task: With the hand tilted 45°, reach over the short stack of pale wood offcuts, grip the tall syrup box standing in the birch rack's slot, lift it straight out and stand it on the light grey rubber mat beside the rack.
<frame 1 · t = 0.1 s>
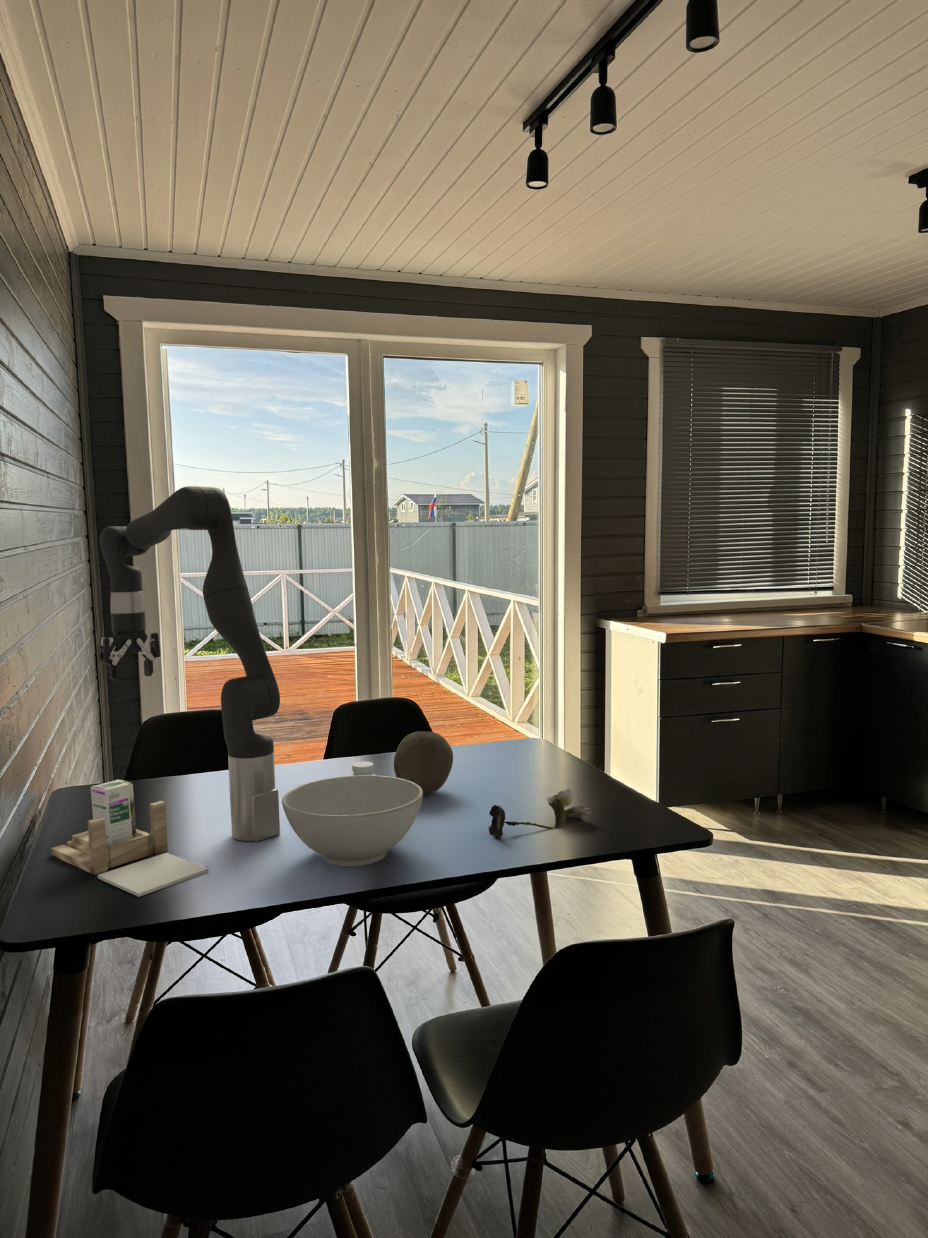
hand: (131, 678, 203), 29 cm above the table, tool pointing down, fingers open, 8 cm apart
decorative bowl: (355, 856, 164), on the table
syrup box: (116, 857, 167), resting in birch rack
grey mat: (153, 875, 157), on the table
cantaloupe: (424, 794, 204), on the table
pill bottle: (364, 816, 188), on the table
artificial flower: (539, 829, 178), on the table
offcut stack: (96, 841, 171), in the birch rack
birch rack: (111, 854, 168), on the table
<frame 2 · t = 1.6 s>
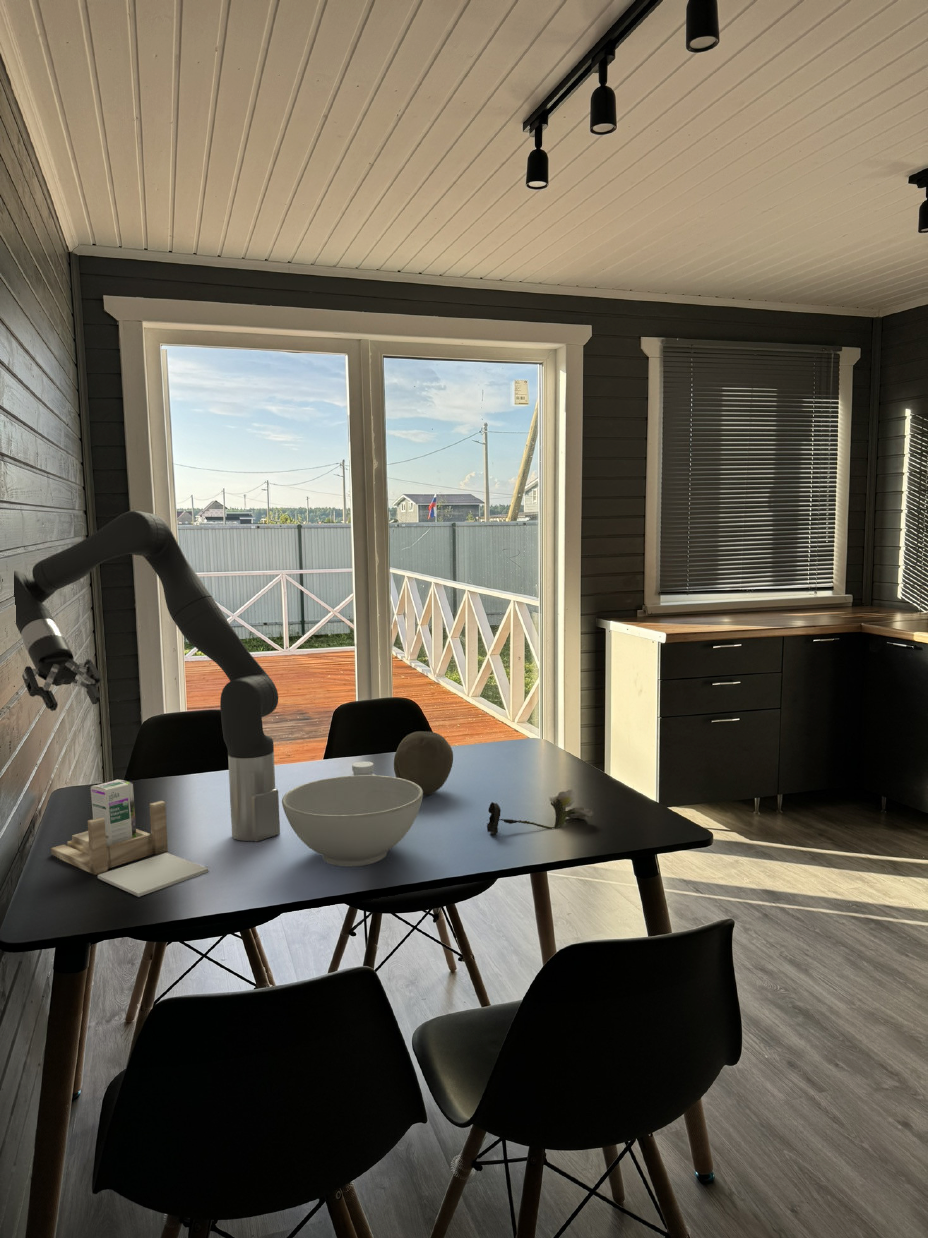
hand: (76, 705, 172), 29 cm above the table, tool tilted 45°, fingers open, 8 cm apart
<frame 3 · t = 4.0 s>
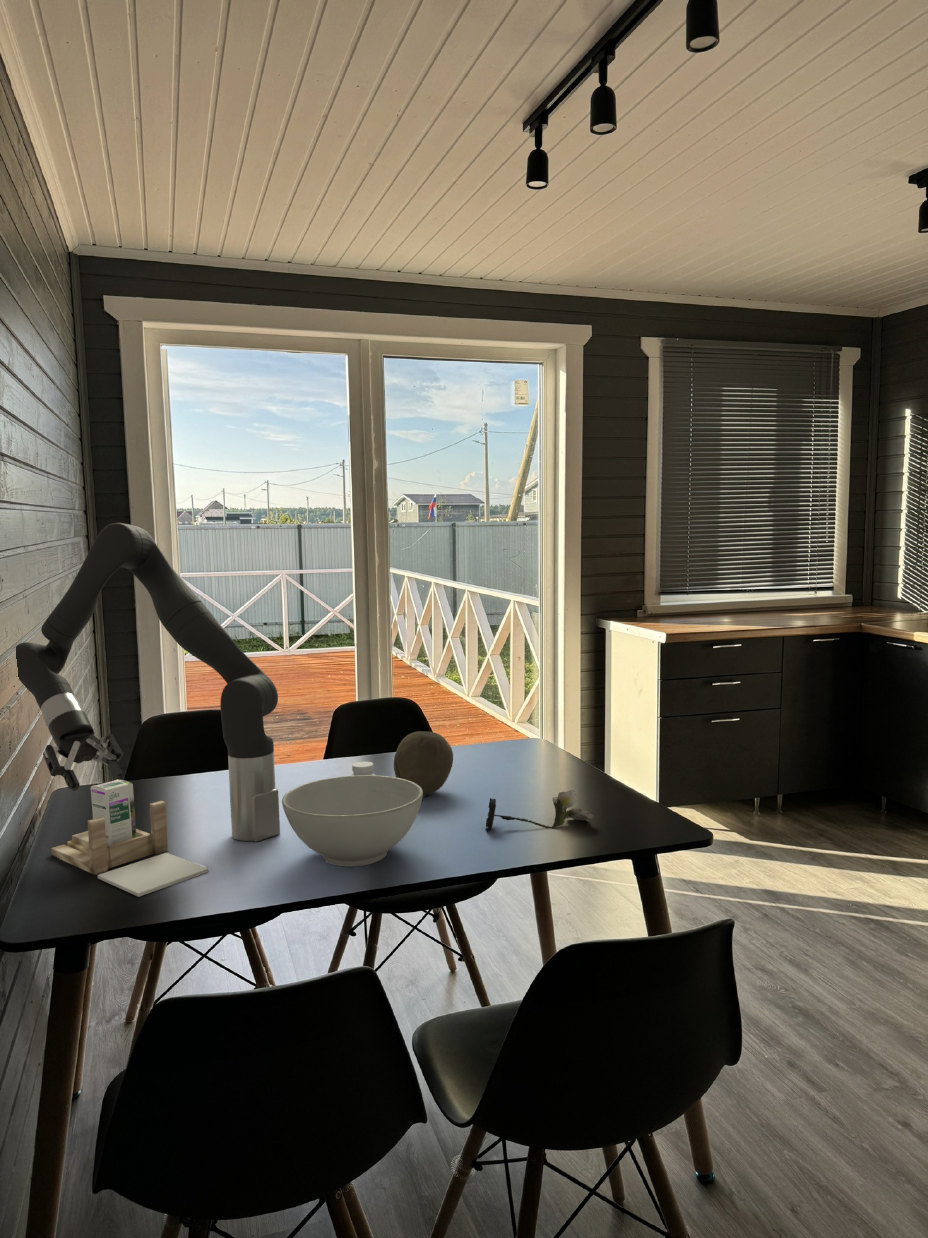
hand: (97, 783, 169), 14 cm above the table, tool tilted 45°, fingers open, 8 cm apart
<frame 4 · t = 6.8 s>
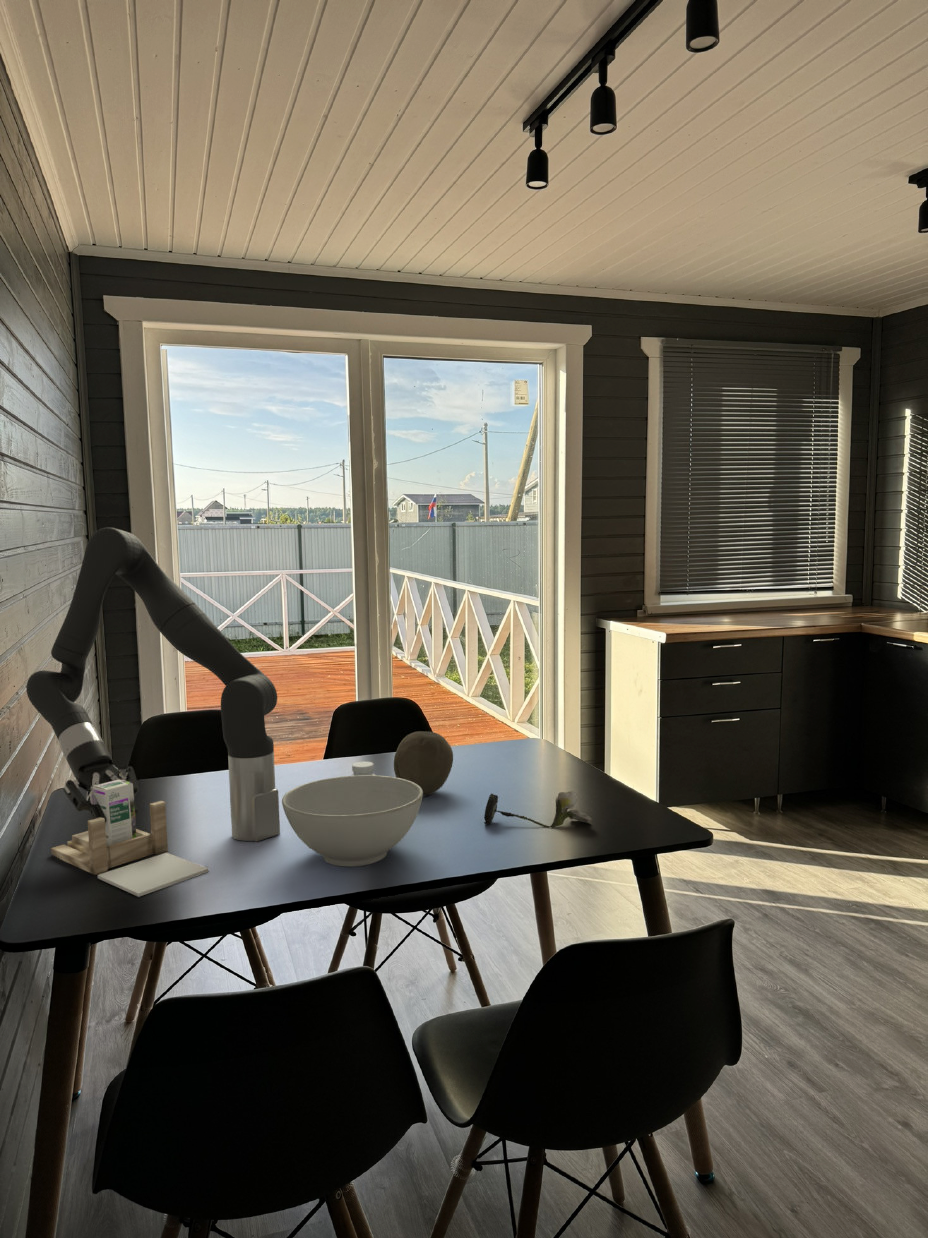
hand: (119, 819, 165), 8 cm above the table, tool tilted 45°, fingers closed on syrup box, 5 cm apart
syrup box: (116, 857, 167), resting in birch rack, touching gripper
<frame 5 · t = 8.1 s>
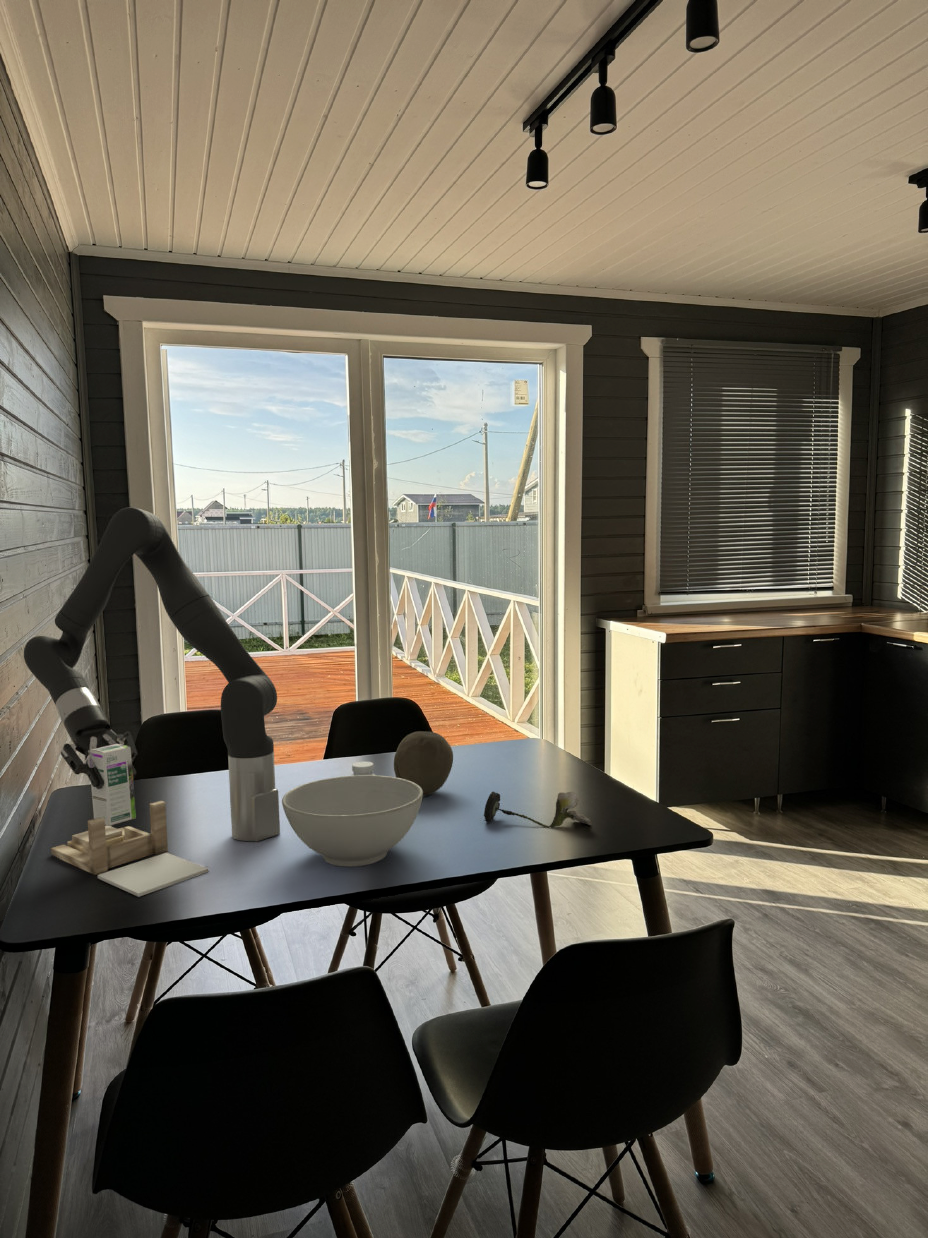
hand: (116, 782, 164), 15 cm above the table, tool tilted 45°, fingers closed on syrup box, 5 cm apart
syrup box: (114, 821, 166), point 7 cm above the table, touching gripper
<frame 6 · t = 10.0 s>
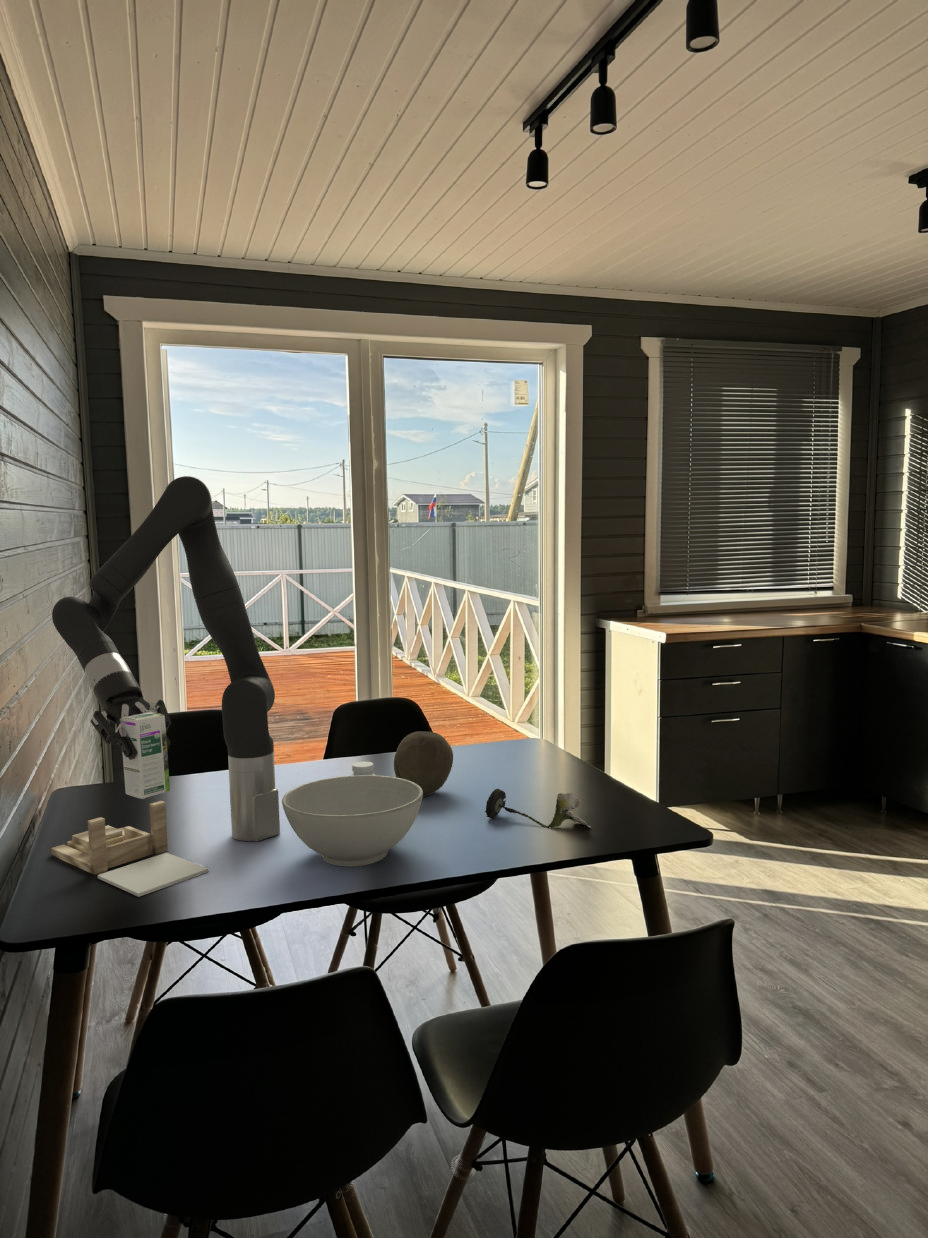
hand: (150, 752, 154), 23 cm above the table, tool tilted 45°, fingers closed on syrup box, 5 cm apart
syrup box: (147, 794, 156), point 15 cm above the table, touching gripper
when the fingers open (10 cm above the table, at t = 13.5 s): syrup box drops 1 cm, resting on grey mat.
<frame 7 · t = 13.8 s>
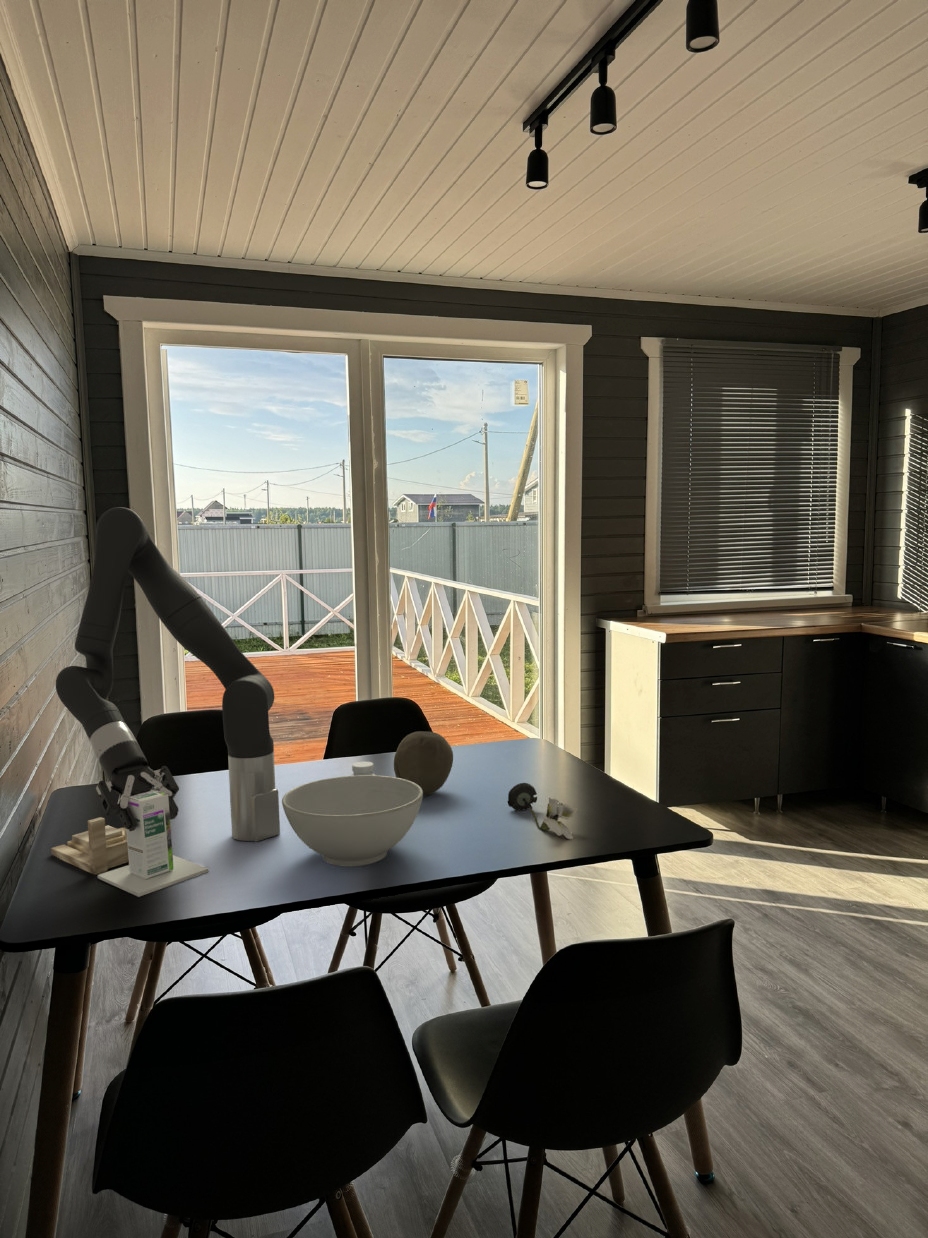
hand: (154, 822, 155), 10 cm above the table, tool tilted 45°, fingers open, 7 cm apart
syrup box: (151, 873, 156), resting on grey mat
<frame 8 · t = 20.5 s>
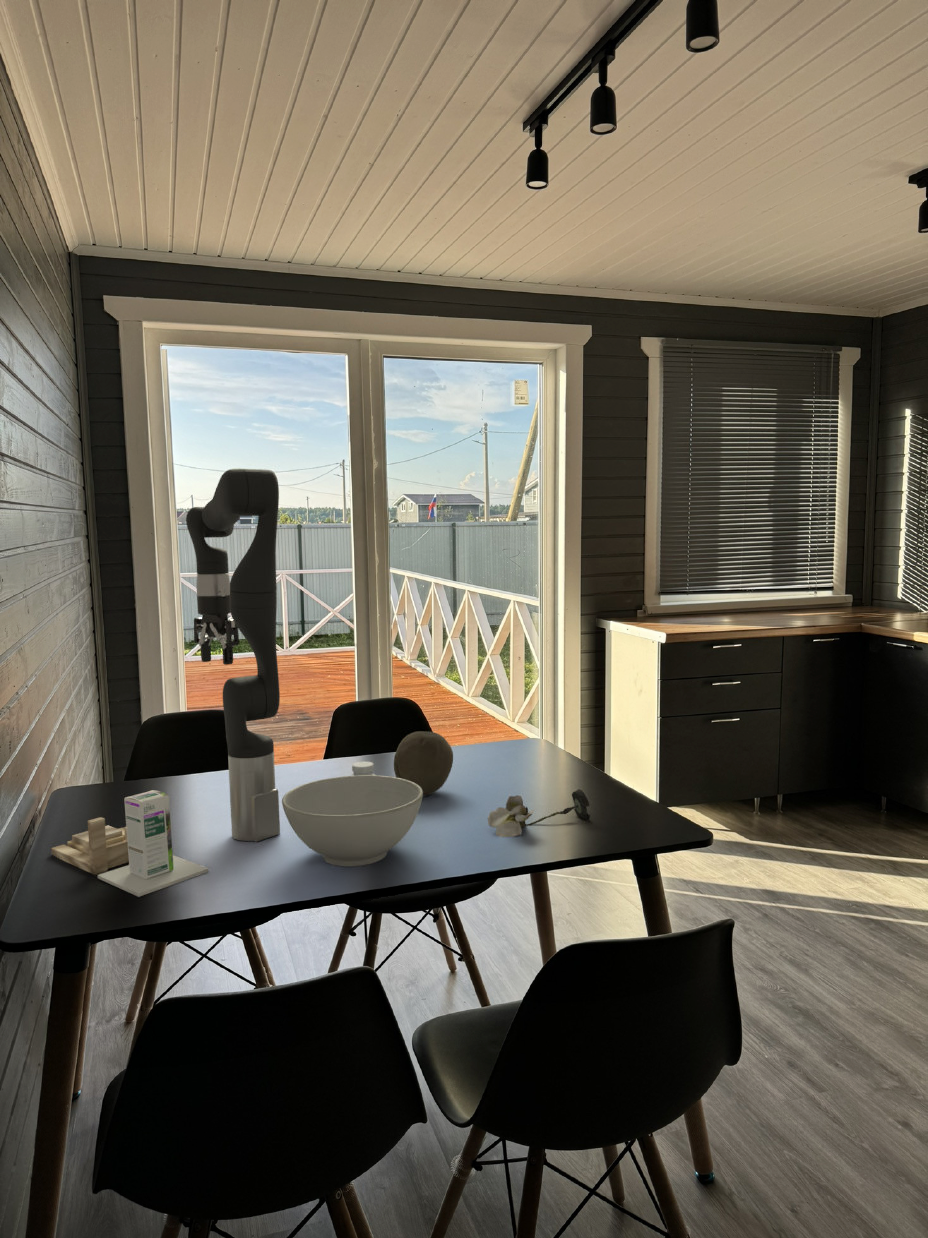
hand: (217, 663, 198), 33 cm above the table, tool pointing down, fingers open, 8 cm apart
artificial flower: (541, 829, 178), on the table
everything else where it was.
at the end: syrup box inside the target area on the grey mat (0.4 cm from its centre), point 0.4 cm above the grey mat's base; syrup box tilted 0°; the gripper is holding nothing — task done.
